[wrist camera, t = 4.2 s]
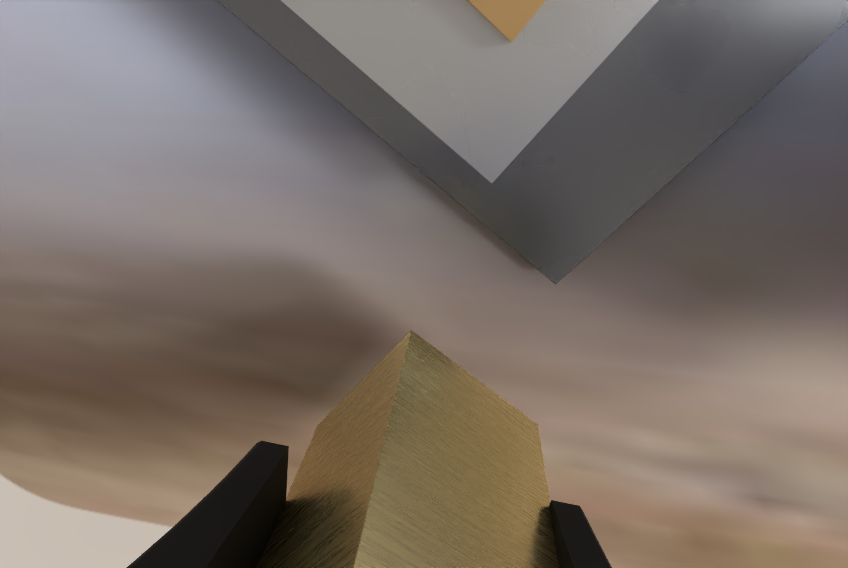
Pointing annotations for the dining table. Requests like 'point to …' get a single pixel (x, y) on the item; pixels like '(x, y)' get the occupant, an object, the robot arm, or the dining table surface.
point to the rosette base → (546, 94)
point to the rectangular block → (418, 476)
